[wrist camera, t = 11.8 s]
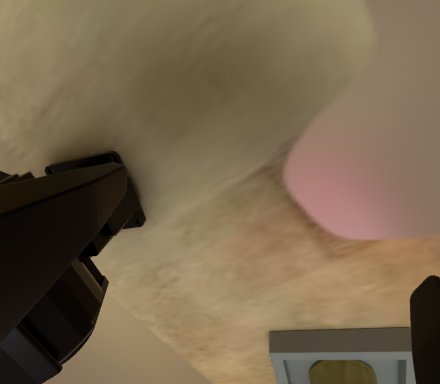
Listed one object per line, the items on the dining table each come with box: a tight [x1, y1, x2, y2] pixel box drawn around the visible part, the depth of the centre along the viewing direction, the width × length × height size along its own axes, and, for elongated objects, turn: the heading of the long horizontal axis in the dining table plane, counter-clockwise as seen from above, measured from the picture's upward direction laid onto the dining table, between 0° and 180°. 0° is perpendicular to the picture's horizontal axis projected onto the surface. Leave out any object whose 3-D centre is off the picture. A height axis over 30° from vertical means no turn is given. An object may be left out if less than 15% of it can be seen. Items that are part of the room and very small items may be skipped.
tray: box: [269, 327, 416, 384], centre depth 28 cm, size 12×12×2 cm
